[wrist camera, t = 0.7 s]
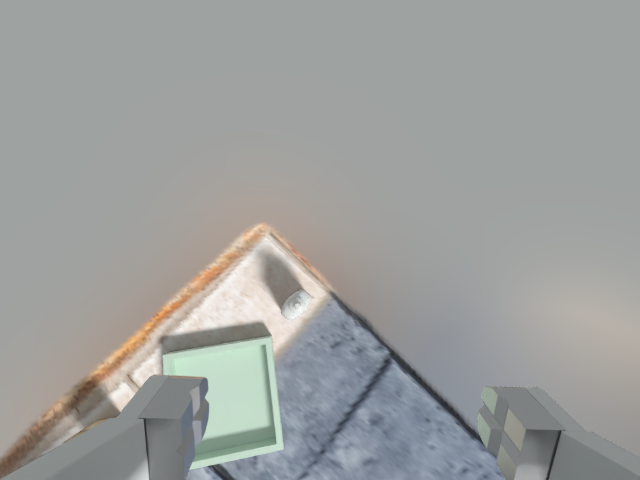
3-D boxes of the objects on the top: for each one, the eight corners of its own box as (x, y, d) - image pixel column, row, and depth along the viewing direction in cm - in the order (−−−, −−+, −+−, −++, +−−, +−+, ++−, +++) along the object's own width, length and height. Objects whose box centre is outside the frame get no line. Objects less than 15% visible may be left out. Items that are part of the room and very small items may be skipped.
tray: (283, 440, 53) (283, 449, 50) (175, 463, 50) (169, 474, 47) (271, 335, 56) (270, 337, 53) (169, 351, 53) (162, 355, 50)
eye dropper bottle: (277, 297, 57) (275, 297, 45) (305, 288, 58) (311, 286, 46) (283, 319, 56) (283, 325, 45) (312, 310, 57) (319, 314, 46)
